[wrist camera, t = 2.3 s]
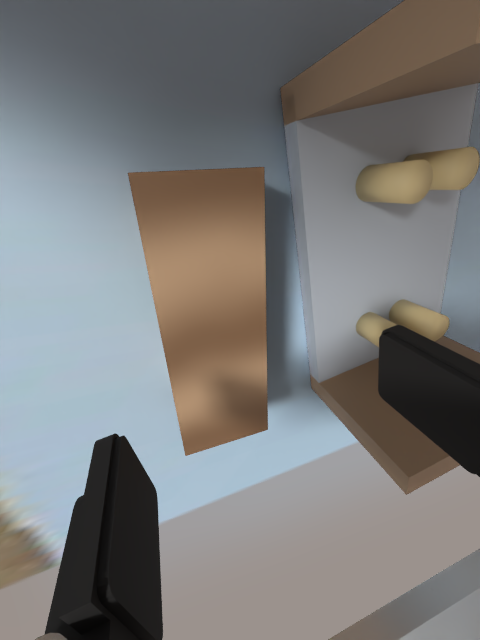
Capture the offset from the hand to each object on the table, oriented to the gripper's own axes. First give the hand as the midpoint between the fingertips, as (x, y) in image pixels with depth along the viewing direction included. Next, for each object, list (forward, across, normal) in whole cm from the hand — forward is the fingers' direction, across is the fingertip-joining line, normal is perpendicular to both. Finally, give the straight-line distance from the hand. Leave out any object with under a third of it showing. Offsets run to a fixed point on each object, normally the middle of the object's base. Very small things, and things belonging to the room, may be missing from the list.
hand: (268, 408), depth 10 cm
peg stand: (+8, -11, -1) cm, 14 cm away
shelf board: (+8, +1, -1) cm, 9 cm away
